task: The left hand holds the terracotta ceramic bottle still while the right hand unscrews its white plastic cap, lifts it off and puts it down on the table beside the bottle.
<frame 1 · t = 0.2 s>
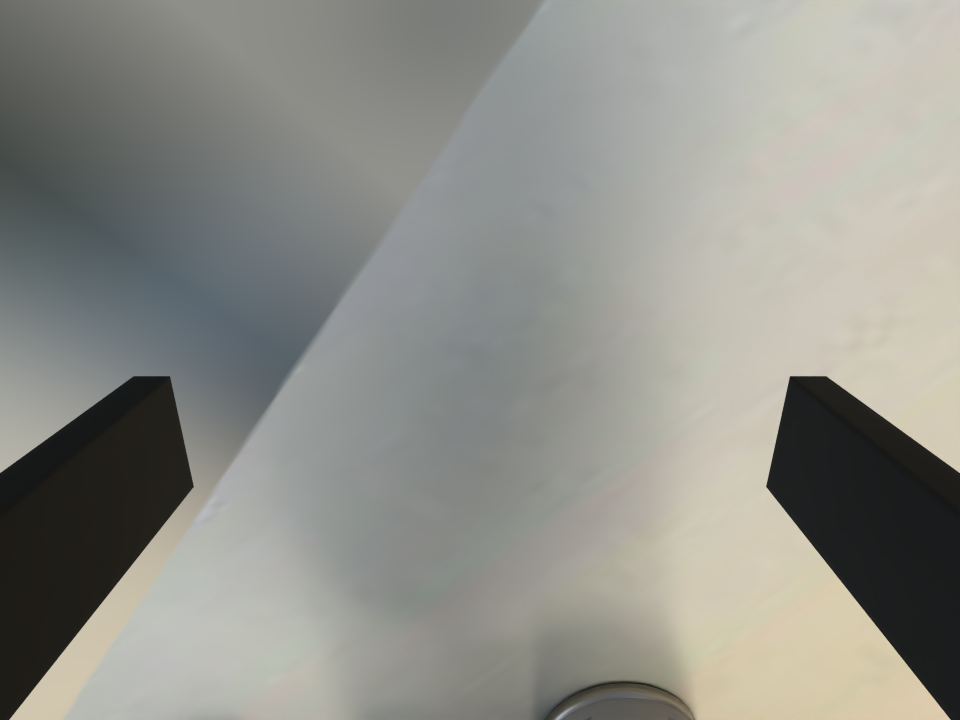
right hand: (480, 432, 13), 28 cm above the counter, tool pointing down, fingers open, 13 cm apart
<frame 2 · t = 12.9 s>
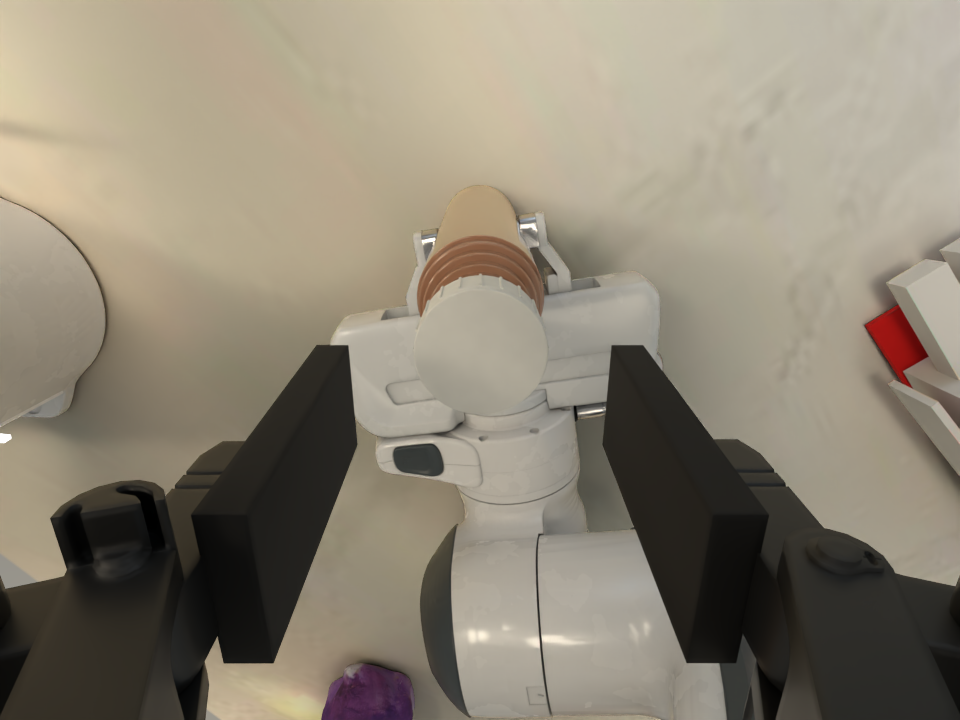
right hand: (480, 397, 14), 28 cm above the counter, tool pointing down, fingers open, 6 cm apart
left hand: (477, 222, 34), fingers closed on bottle, 5 cm apart
figurine: (381, 694, 57), on the counter
bottle: (480, 221, 40), on the counter, touching left hand
cap: (481, 351, 17), point 25 cm above the counter, screwed on, not yet turned
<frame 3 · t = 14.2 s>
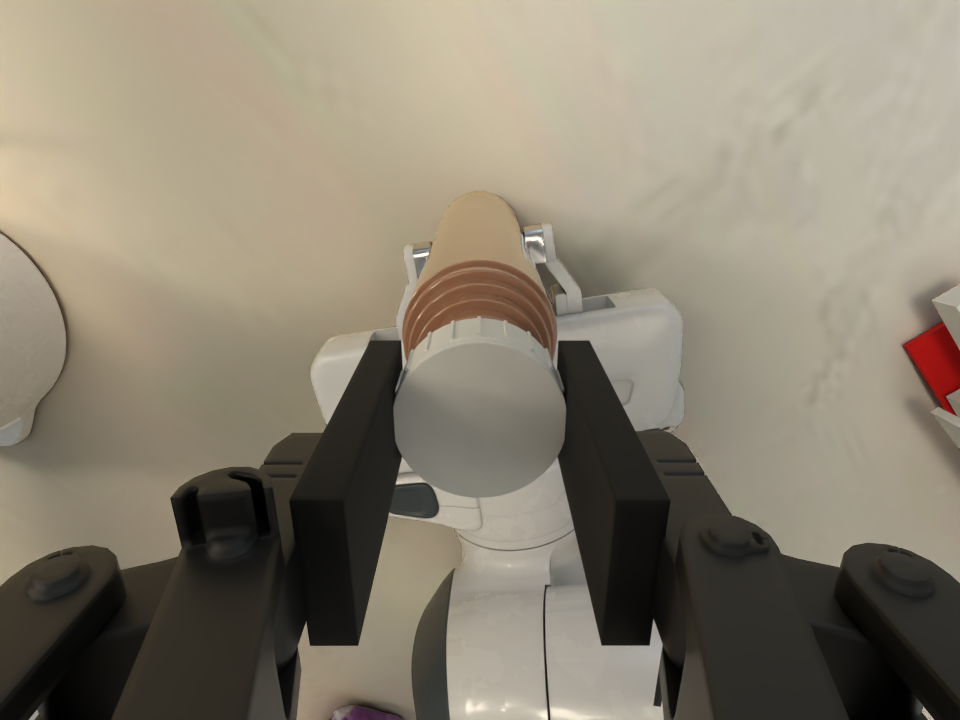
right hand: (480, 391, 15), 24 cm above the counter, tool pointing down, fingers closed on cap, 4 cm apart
bottle: (479, 231, 36), on the counter, touching left hand
cap: (479, 418, 13), point 25 cm above the counter, screwed on, not yet turned, touching right hand
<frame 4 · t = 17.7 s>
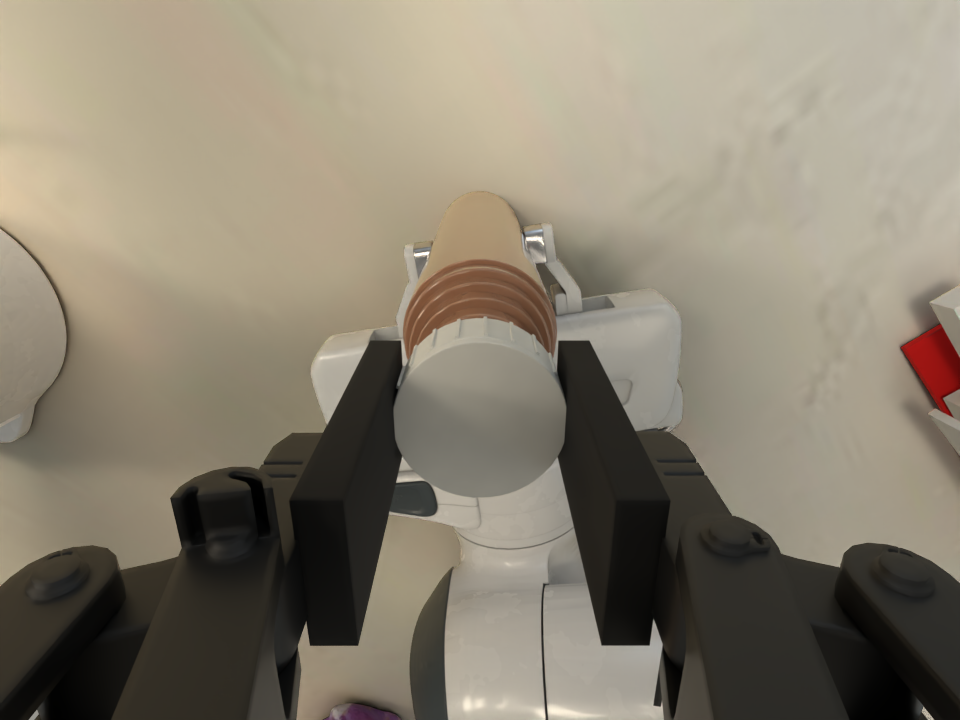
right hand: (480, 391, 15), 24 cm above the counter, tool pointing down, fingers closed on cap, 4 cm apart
bottle: (479, 231, 37), on the counter, touching left hand
cap: (480, 418, 13), point 25 cm above the counter, turned 104° so far, risen 0.1 cm, still on its thread, touching right hand
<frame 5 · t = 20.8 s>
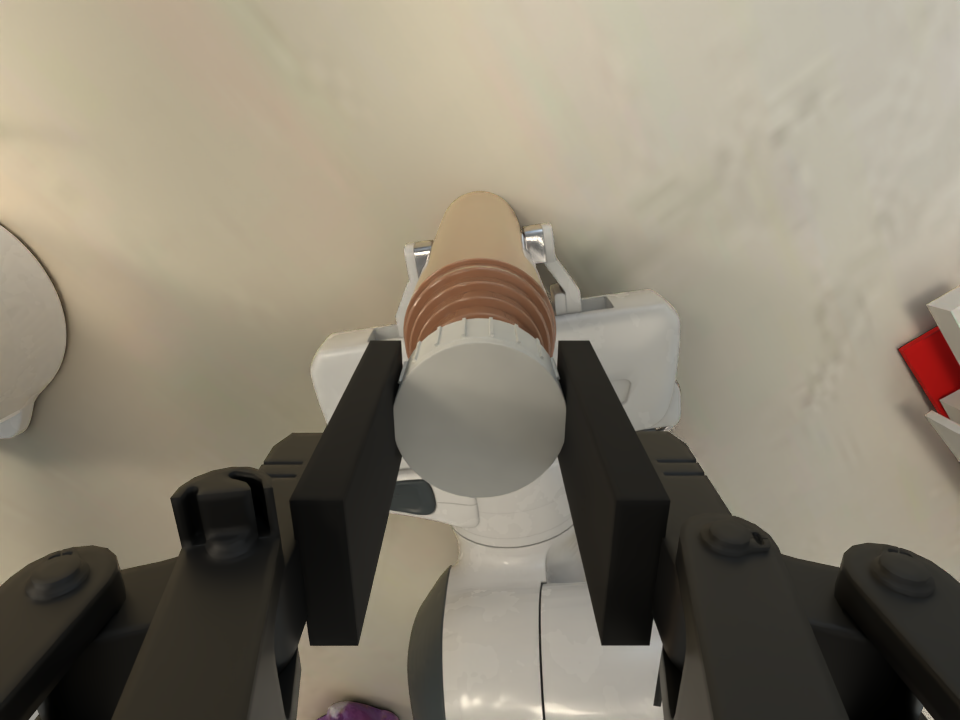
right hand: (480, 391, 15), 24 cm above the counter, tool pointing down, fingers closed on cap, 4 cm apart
bottle: (479, 231, 37), on the counter, touching left hand
cap: (479, 418, 13), point 25 cm above the counter, turned 209° so far, risen 0.2 cm, still on its thread, touching right hand
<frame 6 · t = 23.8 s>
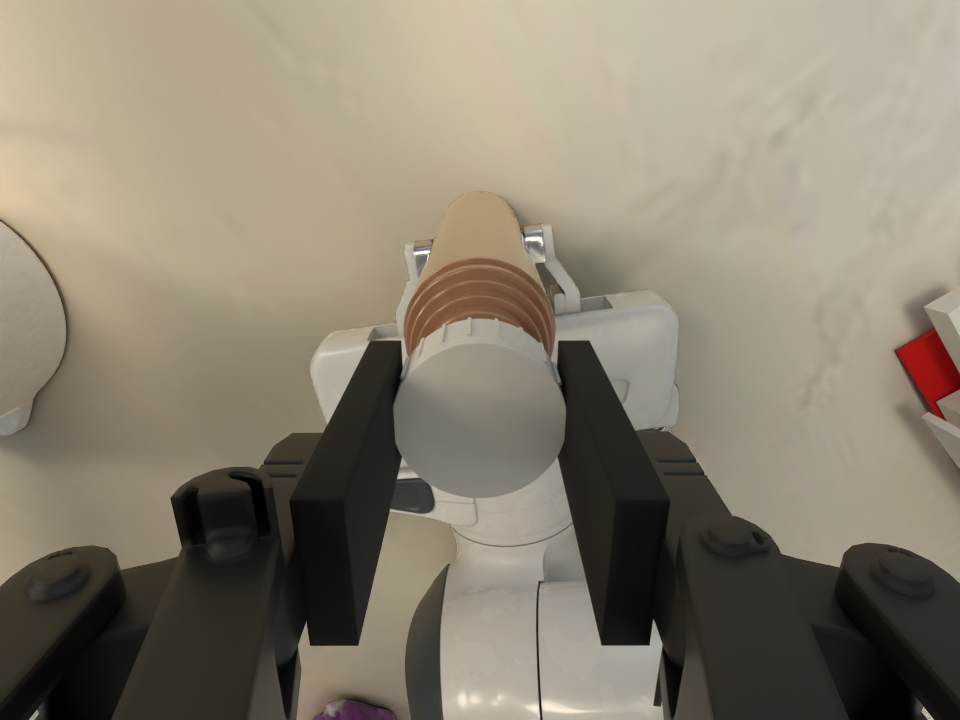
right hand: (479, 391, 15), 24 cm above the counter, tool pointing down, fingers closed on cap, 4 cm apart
bottle: (479, 231, 37), on the counter, touching left hand
cap: (479, 418, 13), point 25 cm above the counter, turned 313° so far, risen 0.4 cm, still on its thread, touching right hand
when the right hand's fingers open (1 cm above the counter, at t = 30.8 s): cap drops 1 cm, point 1 cm above the counter.
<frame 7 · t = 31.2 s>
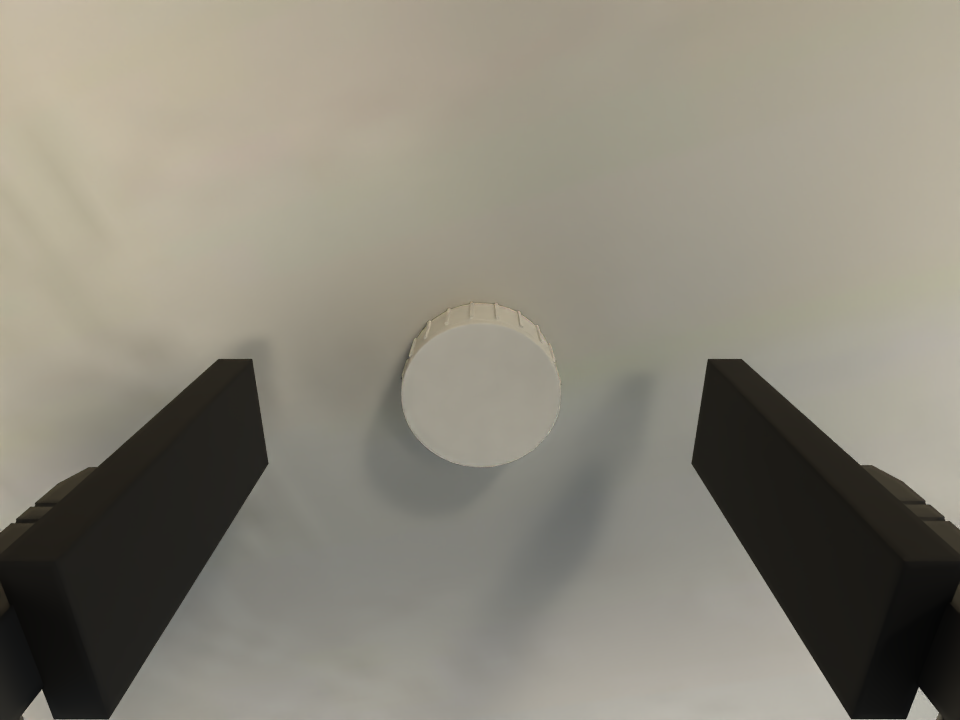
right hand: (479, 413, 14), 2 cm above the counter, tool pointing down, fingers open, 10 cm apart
cap: (481, 393, 15), point 1 cm above the counter, off its thread
when the left hand's fingers open (6 cm above the counter, at t = 32.1 s): bottle stays where it is, on the counter.
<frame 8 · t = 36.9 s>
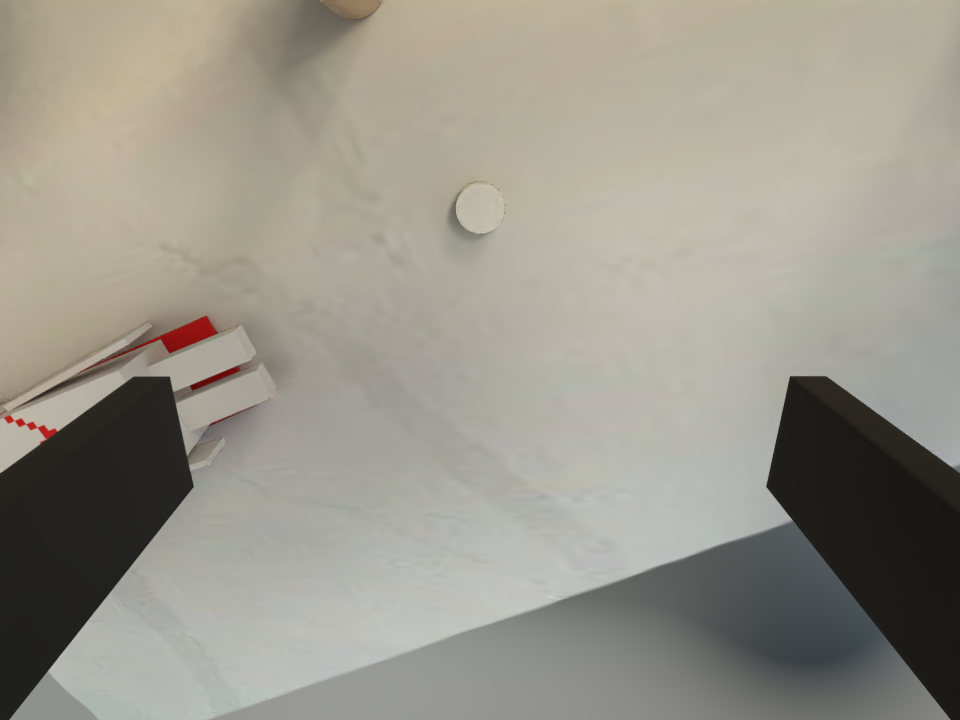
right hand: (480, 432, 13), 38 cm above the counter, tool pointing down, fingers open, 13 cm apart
toy: (129, 396, 55), on the counter
cap: (480, 208, 47), point 1 cm above the counter, off its thread
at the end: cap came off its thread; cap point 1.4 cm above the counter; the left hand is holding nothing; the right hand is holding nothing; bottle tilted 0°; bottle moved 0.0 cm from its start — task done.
